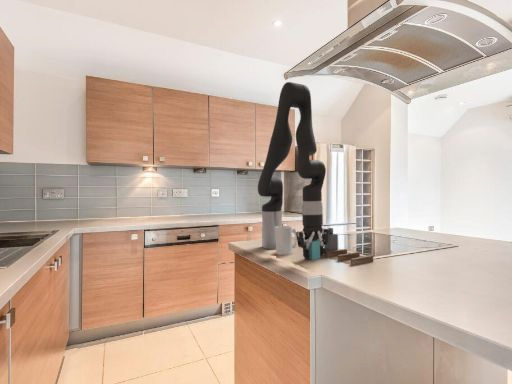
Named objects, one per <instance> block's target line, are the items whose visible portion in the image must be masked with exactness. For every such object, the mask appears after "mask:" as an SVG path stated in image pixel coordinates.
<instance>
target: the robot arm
mask: <svg viewBox="0 0 512 384" xmlns="http://www.w3.org/2000/svg"><path fill="white" fill-rule="evenodd" d="M279 94H280V95H279V98H278V104H277V105H278V106H277V111H276V117H275V122H274V126H273V131H272V133H271V137H270V141H269V146H268V150H267V154H266V157H265V158H266V159H265V162H264V165H263V168H262V171H261V174H260V177H259V180H258V183H257V193H258V195H259V196H260V197H263V198H264V197H265V198H267V197H269V198H270V200H269V201H267V202H266V203H263V204H262V206H261V220H262V221H261V224H262V225H261V244H262V245H261V246H262V249H266V250H276V235H275V227H276V226H283V224H282V223H283V222H282V221H283V219H282V217H283V216H282V213H283V212H282V207H283V201H284V198H283V196H284V195H283V194H284V185H283V184H284V183H283V181H282V179H281V178H280V177H279V176H278V177H277V176H273V175H274V173H275V171H276V170H277V168H278V167H279V166H280V165H281V164H282V163H283V162H284V161H285V159H286V158H287V157H288V156H289V153H290V150H291V148H292V144H293V134H292V131H291V130H292V129H291V126H290V123H289V122H290V121H289V115H290V112H291V108H295V109H298V111H299V115H300V119H299V123H298V124H297V128H296V131H295V141H296V147H297V153H298V154H297V165H296V166H297V167H296V169H297V173H298V175H299V177H300V178H302V179H303V180H304V179H311V180H310V183H309V184H307V185H304V186H303V188H302V208H301V209H302V210H301V211H302V212H301V214H302V216H301V217H302V227H303V229H302V230H301V231H300V230H299V231H298V230H296V235H297V246H298V248H302V256H303V258H304V259H306V260H310V259H309V249H308V248H309V245H310V243H311V242H312V240H319V241H320V258H321V257H323V248H324V247H325V245H327V243H328V234H329V230H328V228H325V227H324V228H323V227H322V226H323V224H324V223H323V222H324V219H323V218H324V217H323V215H324V214H323V213H324V212H323V209H324V208H323V201H322V200H323V198H322V196H323V195H322V189H323V186H324V181H325V177H326V171H327V170H326V169H327V168H326V165H325V163H324V162H323V161H322V160H319V159H310V157H311V156H313V155H315V154H316V153H317V148H318V147H317V143H316V138H315V134H314V129H313V128H314V127H313V115H312V114H313V113H312V112H313V111H312V96H311V90H310V87H308V85H306V84H300V83H298V82H291V81H288V82H285V83H284V84H283V86H282V87H281V91H280V93H279ZM324 238H325V241H324Z"/></svg>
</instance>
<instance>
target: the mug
mask: <svg viewBox="0 0 512 384" xmlns="http://www.w3.org/2000/svg"><path fill="white" fill-rule="evenodd" d="M296 232H297V230H296V228H293V227H292V226H291V225H282V226H276V227H275V235H276V249H275V253H276V254H277V255H278V256H288V255H289V256H290V255H292V254H293V253H292V251H293V249H294V248H296V247H297V246H296V245H297V244H298V242H297V235H296ZM293 235H294V241H293V240H292V239H293V238H292V237H293Z"/></svg>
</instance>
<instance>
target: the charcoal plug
mask: <svg viewBox="0 0 512 384" xmlns="http://www.w3.org/2000/svg"><path fill="white" fill-rule="evenodd" d="M327 229H328V230H329V233H328V243H327V245H324V248H325V254H326V252H329V251H336V250H339V247H338V246H339V244H338V243H339V242H338V238H339V237H338V234H337V233H334V228H333V227H328V228H327ZM324 241H325V238H324Z"/></svg>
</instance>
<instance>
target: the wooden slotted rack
mask: <svg viewBox="0 0 512 384" xmlns="http://www.w3.org/2000/svg"><path fill="white" fill-rule="evenodd" d="M322 257H324V258H327V259H330V260H333V261H337V262H339V263H343V264H345V265H349V266H358V265H363V264H367V263H368V264H369V263H372V262H374V255H373V254H369V255H364V256H360V252H359V251H354V252H349V253H348V248H343V249H338V250H336V251H329V252H326V254H325V247H323V256H322Z"/></svg>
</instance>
